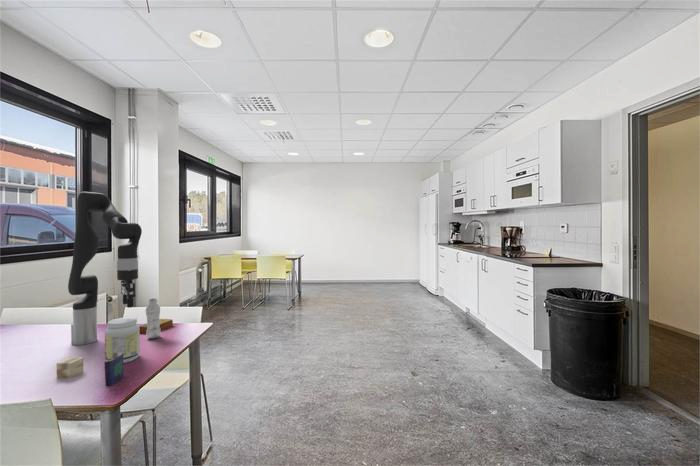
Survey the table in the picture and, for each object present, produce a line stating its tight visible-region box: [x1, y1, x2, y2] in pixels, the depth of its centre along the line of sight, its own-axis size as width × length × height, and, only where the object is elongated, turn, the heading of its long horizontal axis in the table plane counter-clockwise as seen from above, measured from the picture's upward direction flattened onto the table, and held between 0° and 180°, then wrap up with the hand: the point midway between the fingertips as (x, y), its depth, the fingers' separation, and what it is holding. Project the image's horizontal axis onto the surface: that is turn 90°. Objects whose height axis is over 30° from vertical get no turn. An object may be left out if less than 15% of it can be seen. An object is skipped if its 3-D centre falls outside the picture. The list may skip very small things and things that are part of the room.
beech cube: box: [55, 356, 84, 379], centre depth 123 cm, size 6×6×6 cm
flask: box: [104, 352, 125, 387], centre depth 118 cm, size 9×3×11 cm, turn 8°
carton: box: [139, 318, 174, 335], centre depth 180 cm, size 8×16×4 cm, turn 167°
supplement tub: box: [104, 316, 141, 364], centre depth 138 cm, size 12×12×17 cm
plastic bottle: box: [145, 298, 162, 340], centre depth 165 cm, size 6×7×20 cm
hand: (128, 305), depth 140 cm, fingers open, 8 cm apart
